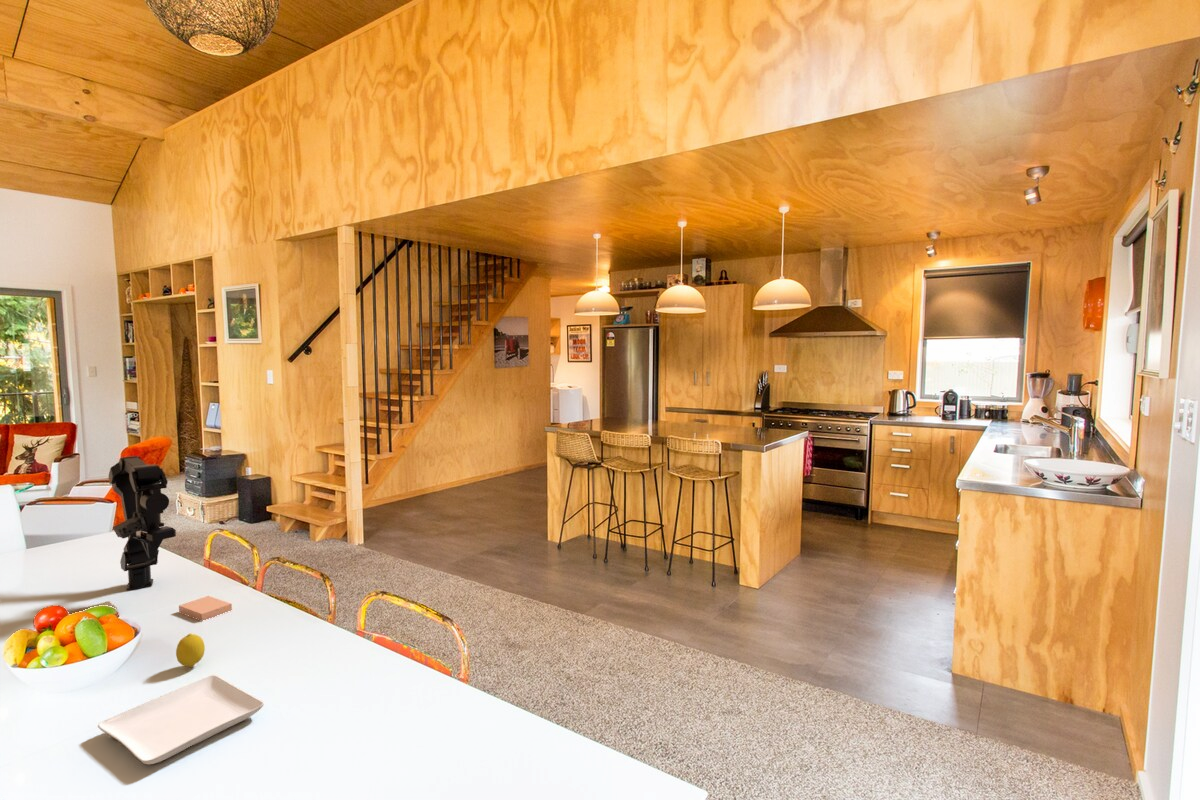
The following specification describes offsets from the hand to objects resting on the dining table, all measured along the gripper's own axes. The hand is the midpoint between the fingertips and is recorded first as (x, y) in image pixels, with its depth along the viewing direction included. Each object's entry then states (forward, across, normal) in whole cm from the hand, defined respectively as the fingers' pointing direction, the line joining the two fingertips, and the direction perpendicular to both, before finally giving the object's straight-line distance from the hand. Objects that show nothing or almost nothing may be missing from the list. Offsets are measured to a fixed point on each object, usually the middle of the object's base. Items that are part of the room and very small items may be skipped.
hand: (151, 558), depth 183 cm
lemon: (+12, +56, -16) cm, 59 cm away
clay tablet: (+13, -1, -15) cm, 20 cm away
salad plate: (+13, +79, -29) cm, 85 cm away
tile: (+11, +19, +2) cm, 22 cm away
